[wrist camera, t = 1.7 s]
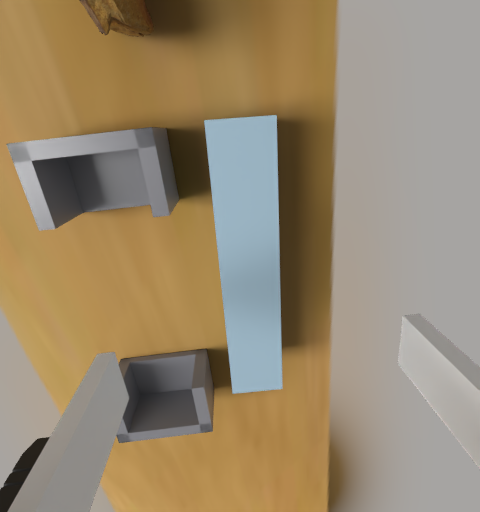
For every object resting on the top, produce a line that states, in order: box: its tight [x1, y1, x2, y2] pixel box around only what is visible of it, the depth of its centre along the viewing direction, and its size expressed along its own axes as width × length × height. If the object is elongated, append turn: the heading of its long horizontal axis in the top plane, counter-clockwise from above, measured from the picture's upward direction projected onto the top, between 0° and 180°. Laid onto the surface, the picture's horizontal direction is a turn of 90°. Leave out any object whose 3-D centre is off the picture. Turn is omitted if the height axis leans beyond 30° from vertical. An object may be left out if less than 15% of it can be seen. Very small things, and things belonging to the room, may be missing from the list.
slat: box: [204, 115, 282, 394], centre depth 23 cm, size 20×4×5 cm, turn 4°
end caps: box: [7, 127, 214, 443], centre depth 23 cm, size 24×8×5 cm, turn 6°
